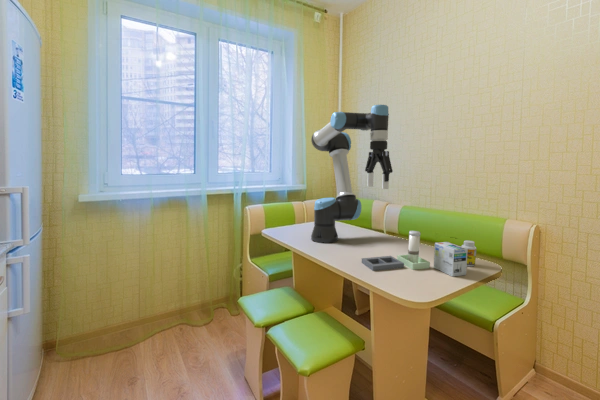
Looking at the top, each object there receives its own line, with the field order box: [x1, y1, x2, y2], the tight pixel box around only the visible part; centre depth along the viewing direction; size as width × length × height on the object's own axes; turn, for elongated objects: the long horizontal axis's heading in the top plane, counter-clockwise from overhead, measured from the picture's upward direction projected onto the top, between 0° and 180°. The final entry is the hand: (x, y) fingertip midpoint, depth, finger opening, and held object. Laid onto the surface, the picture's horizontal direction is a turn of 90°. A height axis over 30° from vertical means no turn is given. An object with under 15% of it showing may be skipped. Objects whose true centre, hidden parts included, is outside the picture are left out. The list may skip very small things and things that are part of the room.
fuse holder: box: [361, 255, 405, 272], centre depth 124 cm, size 10×14×2 cm
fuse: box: [407, 230, 422, 263], centre depth 124 cm, size 4×4×14 cm
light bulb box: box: [433, 241, 468, 277], centre depth 118 cm, size 11×7×11 cm, turn 17°
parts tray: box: [396, 254, 431, 271], centre depth 125 cm, size 11×8×3 cm
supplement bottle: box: [461, 239, 477, 267], centre depth 125 cm, size 6×6×10 cm
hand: (377, 187), depth 136 cm, fingers open, 13 cm apart
